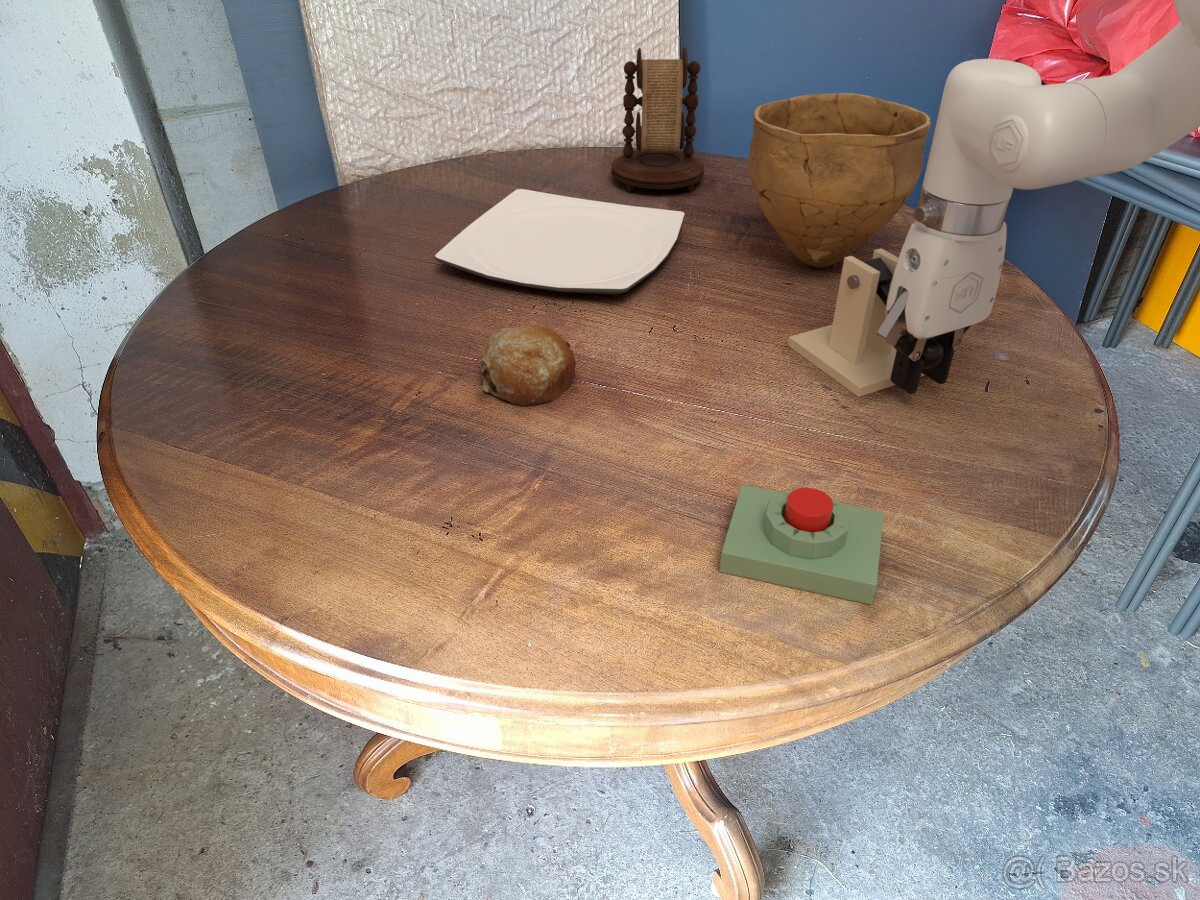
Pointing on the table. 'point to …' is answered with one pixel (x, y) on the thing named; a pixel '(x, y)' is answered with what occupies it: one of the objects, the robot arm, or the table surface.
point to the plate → (564, 243)
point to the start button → (808, 510)
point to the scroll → (659, 125)
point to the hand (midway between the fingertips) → (917, 381)
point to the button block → (803, 547)
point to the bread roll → (527, 365)
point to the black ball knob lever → (932, 347)
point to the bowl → (834, 169)
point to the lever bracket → (853, 332)
